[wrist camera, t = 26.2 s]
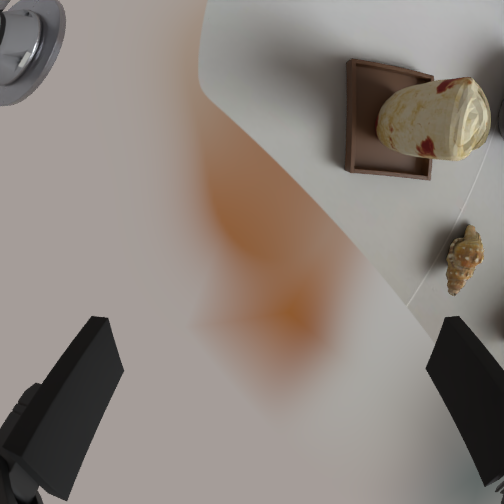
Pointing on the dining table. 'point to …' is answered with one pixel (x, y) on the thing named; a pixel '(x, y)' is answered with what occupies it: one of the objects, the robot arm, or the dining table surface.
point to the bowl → (501, 120)
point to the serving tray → (365, 114)
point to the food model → (435, 119)
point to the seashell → (463, 259)
